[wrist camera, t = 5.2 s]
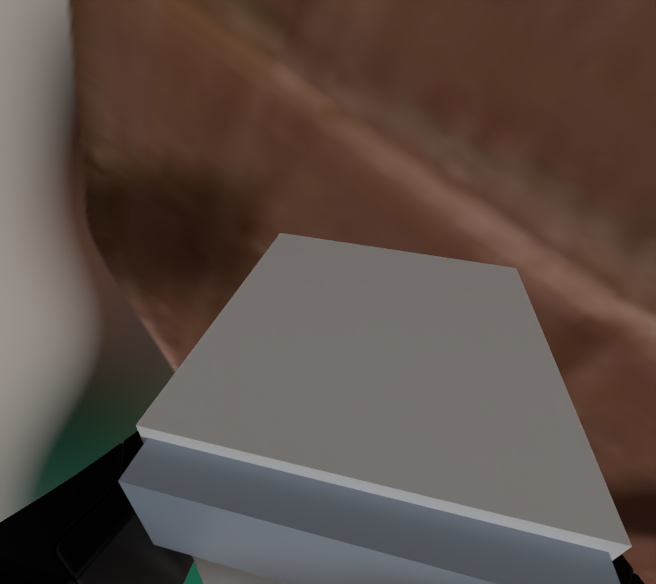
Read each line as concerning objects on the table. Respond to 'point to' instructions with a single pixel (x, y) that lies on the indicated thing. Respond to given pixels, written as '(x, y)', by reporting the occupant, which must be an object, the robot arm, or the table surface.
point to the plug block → (374, 432)
